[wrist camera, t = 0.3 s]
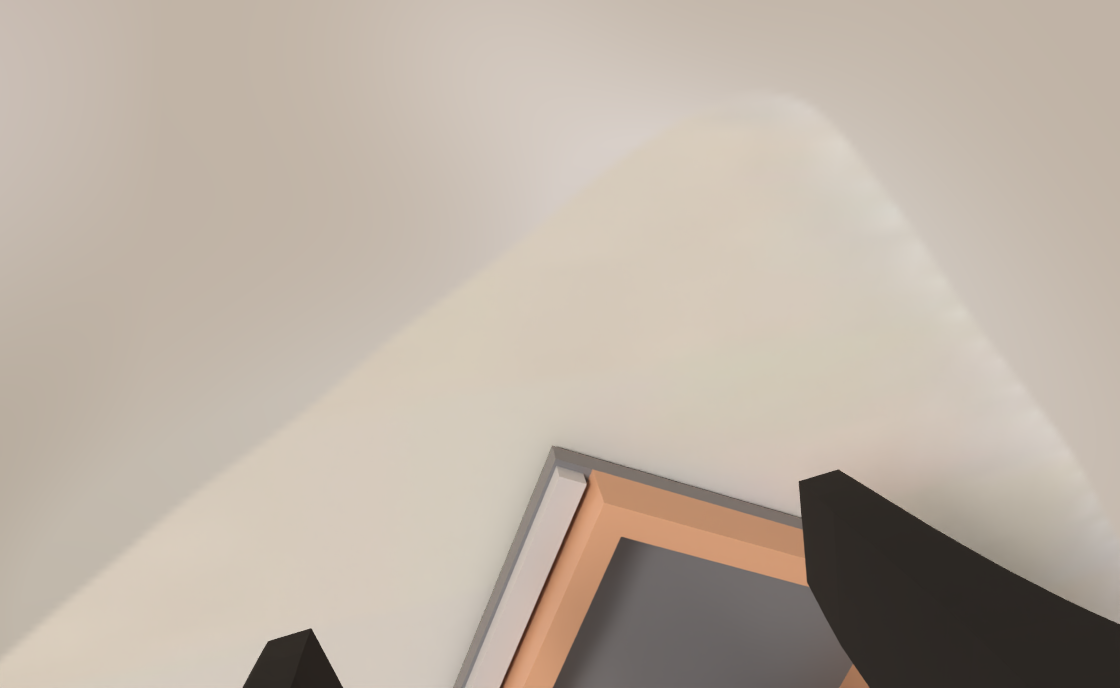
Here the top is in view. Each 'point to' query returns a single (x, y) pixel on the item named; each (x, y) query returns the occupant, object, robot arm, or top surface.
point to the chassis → (651, 591)
